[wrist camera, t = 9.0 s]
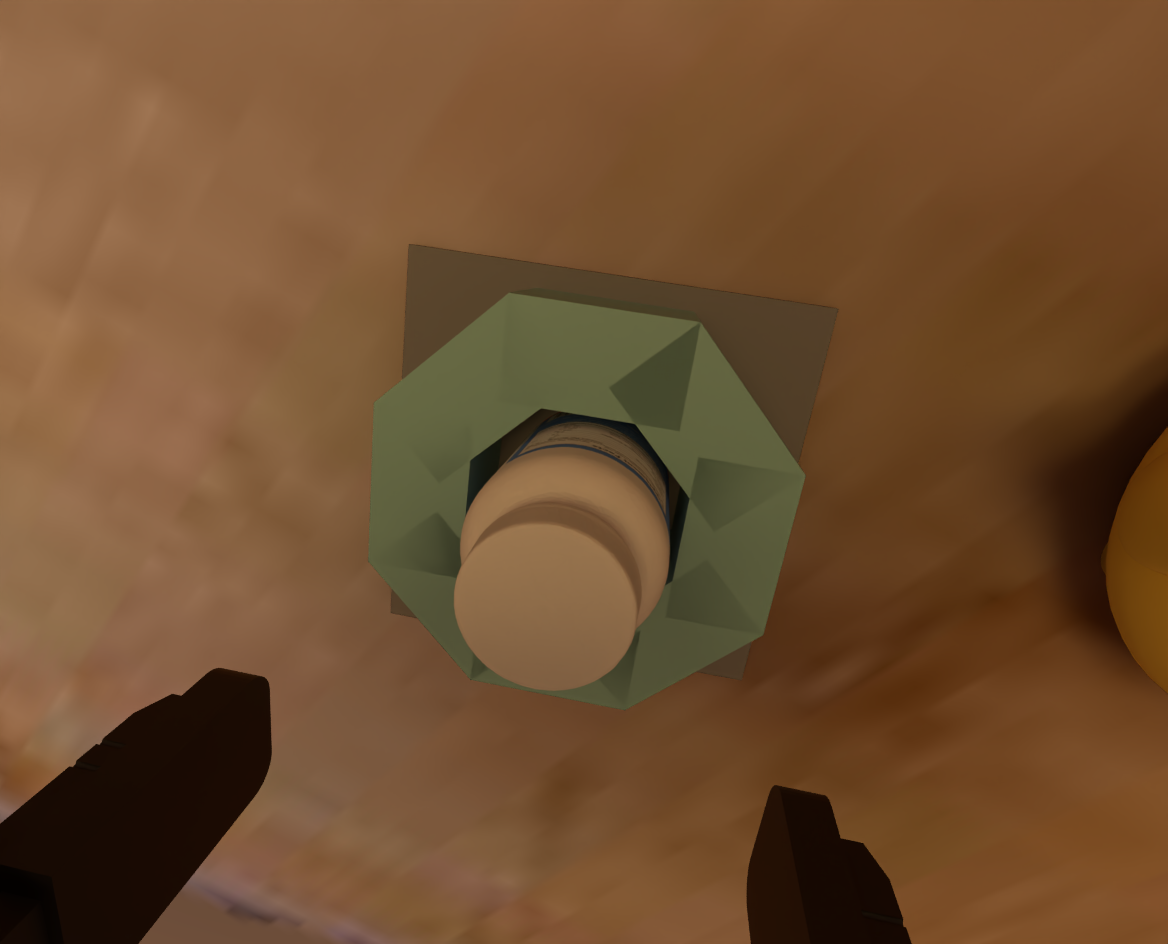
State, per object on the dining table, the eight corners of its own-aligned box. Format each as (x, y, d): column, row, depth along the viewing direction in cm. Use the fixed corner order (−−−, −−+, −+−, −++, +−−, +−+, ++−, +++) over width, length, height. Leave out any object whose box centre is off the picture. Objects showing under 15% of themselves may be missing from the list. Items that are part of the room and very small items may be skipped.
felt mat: (835, 307, 21) (838, 308, 20) (740, 674, 25) (741, 680, 25) (413, 244, 22) (408, 244, 21) (394, 607, 26) (390, 612, 26)
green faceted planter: (808, 329, 20) (841, 343, 17) (726, 660, 24) (737, 732, 21) (429, 271, 21) (378, 272, 18) (409, 600, 25) (364, 658, 22)
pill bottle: (599, 575, 24) (551, 765, 15) (489, 480, 23) (368, 615, 14) (703, 473, 22) (724, 615, 13) (588, 368, 22) (523, 438, 12)
